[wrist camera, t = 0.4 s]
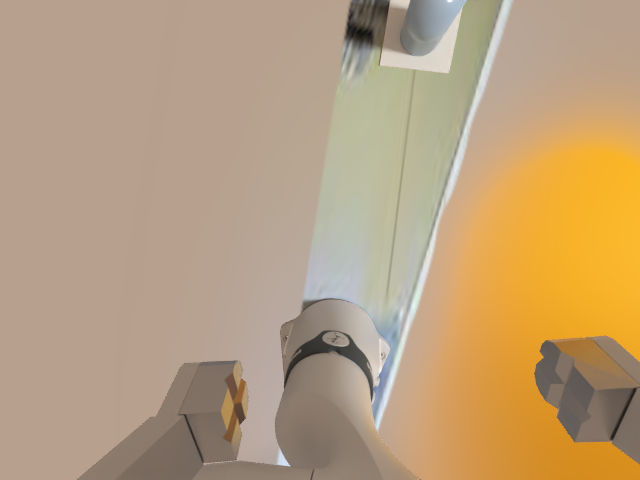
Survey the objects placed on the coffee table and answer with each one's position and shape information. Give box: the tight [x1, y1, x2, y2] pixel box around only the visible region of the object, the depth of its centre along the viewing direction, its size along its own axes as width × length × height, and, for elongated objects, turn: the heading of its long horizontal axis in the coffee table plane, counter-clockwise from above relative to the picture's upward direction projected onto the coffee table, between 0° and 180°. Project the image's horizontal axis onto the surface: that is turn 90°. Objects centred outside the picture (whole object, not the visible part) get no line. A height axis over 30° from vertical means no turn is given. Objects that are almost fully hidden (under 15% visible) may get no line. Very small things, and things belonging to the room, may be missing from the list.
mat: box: [380, 0, 462, 74], centre depth 47 cm, size 13×10×1 cm
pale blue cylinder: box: [400, 0, 466, 56], centre depth 41 cm, size 6×6×12 cm
